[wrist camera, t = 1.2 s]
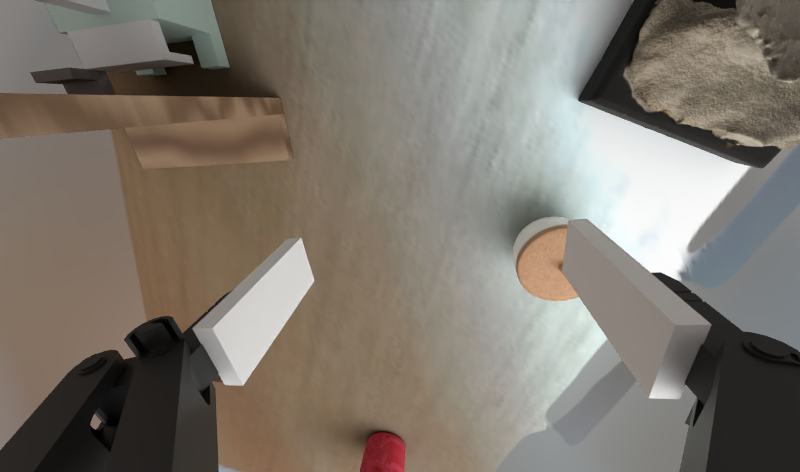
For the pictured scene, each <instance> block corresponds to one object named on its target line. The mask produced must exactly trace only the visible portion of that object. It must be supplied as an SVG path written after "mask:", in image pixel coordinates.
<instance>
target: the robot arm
mask: <svg viewBox="0 0 800 472" xmlns="http://www.w3.org/2000/svg"><path fill="white" fill-rule="evenodd" d="M562 273H563V274H564V275H565V277H566V278H567V280H568V281H569V283H570V284H571V286H572V287H573V289H574V290H575V291H576V293H577V294H578V296H579V297H580V299H581V300H582V302H583V303H584V305H585V306H586V307H587V309H588V310H589V312H590V313H591V315H592V316H593V318H594V319H595V321H596V322H597V323H598V325H599V326H600V328H601V329H602V331H603V332H604V334H605V335H606V337H607V338H608V339H609V341H610V342H611V344H612V345H613V347H614V348H615V350H616V351H617V353H619V356H620V357H621V358H622V360H623V361H624V363H625V364H626V366H627V367H628V369H629V370H630V372H631V373H632V374H633V376H634V377H635V379H636V380H637V382H638V383H639V384H640V386H641V388H642V389H643V390H644V392H645V393H646V395H647V396H648V397H649V398H663V399H664V398H665V399H679V398H680V396H681V394H682V391H683V389H684V387H685V385H687V386H688V387H689V388H690V390H691V391H692V392H693V393H694V394H695V395H696V397H697V399H696V401H695V403H694V405H693V407H692V409H691V411H690V414H689V416H688V418H687V420H686V422H685V423H686V424H688V425H689V429H688V433H687V438H686V443H685V448H684V453H683V457H682V462H681V467H680V472H800V352H799V351H798V350H796V349H794V348H792V347H791V346H789V345H787V344H785V343H783V342H781V341H778V340H776V339H773V338H770V337H768V336H764V335H760V334H756V333H751V332H743V331H742V330H740V329H739V328H738V327H736V326H735V325H734V324H733V323H731V322H730V321H729V320H727V319H726V318H725V317H724V316H723V315H721V314H720V313H719V312H717V311H716V310H715V309H714V308H712V307H711V306H710V305H708V304H707V303H706V302H703V301H702V299H701V298H699V297H698V296H697V295H696V294H694V293H691V290H689V289H688V288H687V287H685V286H684V285H683V284H682V283H680V282H679V281H677V280H675V279H673V278H671V277H669V276H667V275H665V274H663V273H650V272H649V271H648V270H647V269H645V268H644V267H643V266H642V265H641V264H640V263H638V262H637V261H636V260H635V259H634V258H632V257H631V256H630V255H629V254H628V253H627V252H625V251H624V250H623V249H622V248H621V247H619V246H618V245H617V244H616V243H615V242H614V241H612V240H611V239H610V238H609V237H608V236H606V235H605V234H604V233H603V232H602V231H601V230H599V229H598V228H597V227H596V226H595V225H593V224H592V223H591V222H590V221H589V220H588V219H579V220H568V228H567V235H566V243H565V251H564V258H563V266H562ZM313 282H314V278H313V275H312V271H311V268H310V265H309V262H308V258H307V255H306V252H305V249H304V245H303V242H302V239H301V238H289V239H287V240H286V241H285V242H284V243H283V244H282V245H281V246H279V247H278V248H277V249H276V250H275V251H274V252H273V253H272V254H271V255H270V256H269V257H268V258H267V259H266V260H265V261H264V262H262V263H261V264H260V265H259V266H258V267H257V268H256V269H255V270H254V271H253V272H252V273H251V274H250V275H249V276H248V277H247V278H245V279H244V280H243V281H242V282H241V283H240V284H239V285H238V286H237V287H236V288H235V289H233V290H232V291H230V292H229V293H227V294H225V295H224V296H223V297H222V298H220V299H219V300H218V301H217V302H216V303H215V305H213V306H212V307H211V308H210V309H209V310H208V312H205V313H204V314H203V315H202V316H201V317H200V318H199V319H198V320H197V321H196V322H195V323H193V324H192V325H191V326H190V327H189V328H188V329H187V330H186V331H185V332H184V333H183V334H182V332H181V331H180V329H179V327H178V326H177V324H176V322H175V321H174V319H173V317H170V316H163V317H159V318H155V319H152V320H150V321H148V322H146V323H143V324H142V325H140V326H138V327H137V328H135V329H134V330H133V331H131V332H130V333H129V334H128V335H127V337H126V338H125V339H124V340H125V342H126V343H127V344H128V346H129V347H130V349H131V350H132V351H133V353H134V354H135V355H136V357H133V358H129V359H125V360H124V359H123V358H122V356H121V355H120V354H119V352H118V351H116V350H108V351H104V352H101V353H98V354H94V355H92V356H90V358H89V357H88V358H86V359H85V360H83V361H82V362H81V363H80V364H78V365H77V366H75V367H74V368H73V369H72V370H71V371H70V372H69V373H68V374H67V375H66V376H65V377H64V378H63V379H62V381H61V382H60V383H59V384H58V385H57V386H56V387H55V389H54V390H53V391H52V392H51V393H50V394H49V395H48V397H47V398H46V399H45V400H44V401H43V402H42V403H41V405H40V406H39V407H38V408H37V409H36V410H35V411H34V413H33V414H32V415H31V416H30V417H29V418H28V419H27V421H26V422H25V423H24V424H23V425H22V426H21V427H20V428H19V430H18V431H17V432H16V433H15V434H14V435H13V436H12V438H11V439H10V440H9V441H8V442H7V443H6V444H5V446H4V447H3V448H2V449H1V450H0V472H219V471H218V446H217V421H216V396H215V388H214V385H213V384H212V381H213V380H214V378H215V377H216V376H217V375H218V374H219V376H220V378H221V379H222V381H223V383H224V385H242V386H243V385H244V384H245V382H246V381H247V379H248V378H249V376H250V375H251V373H252V372H253V370H254V369H255V367H256V366H257V364H258V363H259V361H260V360H261V359H262V357H263V356H264V354H265V353H266V351H267V350H268V348H269V347H270V345H271V344H272V342H273V341H274V339H275V338H276V336H277V335H278V334H279V332H280V331H281V329H282V328H283V326H284V325H285V323H286V322H287V320H288V319H289V317H290V316H291V314H292V313H293V311H294V310H295V309H296V307H297V306H298V304H299V303H300V301H301V300H302V298H303V297H304V295H305V294H306V292H307V291H308V289H309V288H310V286H311V285H312V284H313ZM94 414H95V415H96V416H97V417H98V418H99V419H100V420H101V421H102V422H101V423H100V425H99V427H98V428H97V429H96V430H95V429H93V428H92V427H91V426H90V422H91V420H92V417H93V415H94Z"/></svg>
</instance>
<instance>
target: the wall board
mask: <svg viewBox="0 0 800 472" xmlns="http://www.w3.org/2000/svg"><path fill="white" fill-rule="evenodd" d="M31 75H32V76H33V78H34V80H35V82H36V83H51V84H63V85H64V87H65V89H66V91H67V93H68V94H13V93H0V139H1V138H14V137H25V136H37V135H48V134H59V133H70V132H83V131H94V130H105V129H117V128H125V130H126V132H127V134H128V136H129V139H130V141H131V143H132V145H133V147H134V150H135V152H136V154H137V156H138V159H139V161H140V163H141V165H142V167H143V169H156V168H172V167H189V166H205V165H221V164H237V163H254V162H270V161H286V160H291V159H294V156H293V152H292V147H291V143H290V139H289V134H288V130H287V126H286V121H285V117H284V113H283V108H282V104H281V99H280V98H258V97H197V96H136V95H116V94H115V92H114V90H113V87H112V85H111V83H110V81H109V78H108V76H107V74H106V72H105V71H100V70H88V69H77V68H63V69H54V70H46V71H38V72H31Z"/></svg>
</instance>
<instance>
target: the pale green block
mask: <svg viewBox="0 0 800 472" xmlns="http://www.w3.org/2000/svg"><path fill="white" fill-rule="evenodd" d="M36 1H40V2H44V3H45V5H46V7H47V9H48V12H49V13H50V16H51V18H52V20H53V22H54V24H55V26H56V28H57V30H58V32H59V33H62V34H68V35H69V38H70V40H71V42H72V44H73V46H74V48H75V50H76V53H77V55H78V57H79V59H80V61H81V63H82V65H83V68H84V69H88V70H100V71H109V72H120V73H121V72H130V71H136V73H137V75H139V76H160V75H167V74H166V71H165V68H164V67H172V66H180V65H188V64H194V63H193V59H192V56H190V55H184V54H179V53H173V52H169V50H168V47H167V44H169V43H176V42H184V41H191V40H193V42H194V46H195V49H196V52H197V55H198V58H199V61H200V64H201V67H202V68H206V69H221V68H229V67H230V66H229V63H228V59H227V56H226V52H225V49H224V45H223V42H222V38H221V35H220V31H219V27H218V24H217V20H216V17H215V13H214V10H213V6H212V3H211V0H36Z"/></svg>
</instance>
